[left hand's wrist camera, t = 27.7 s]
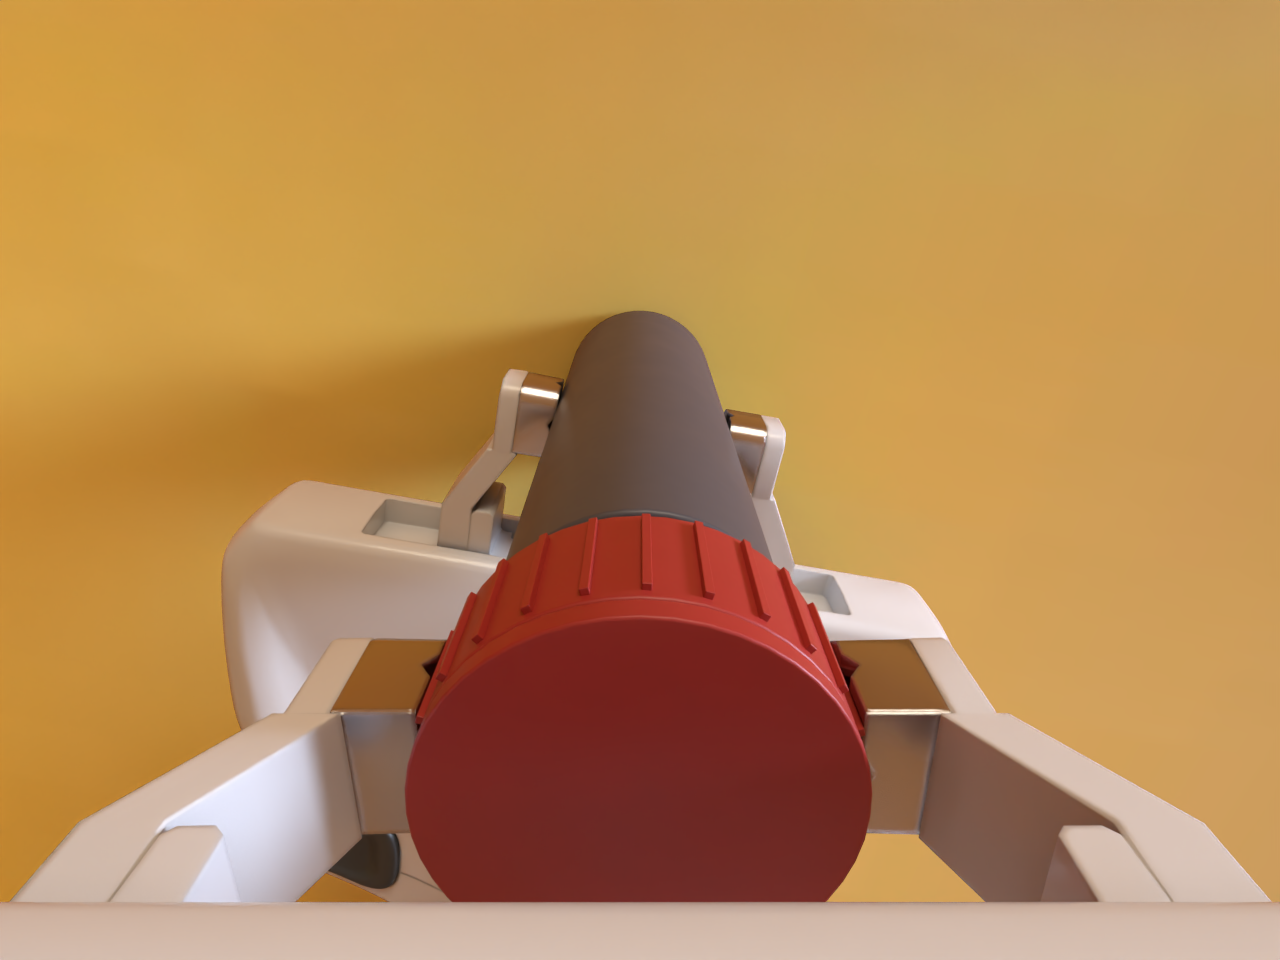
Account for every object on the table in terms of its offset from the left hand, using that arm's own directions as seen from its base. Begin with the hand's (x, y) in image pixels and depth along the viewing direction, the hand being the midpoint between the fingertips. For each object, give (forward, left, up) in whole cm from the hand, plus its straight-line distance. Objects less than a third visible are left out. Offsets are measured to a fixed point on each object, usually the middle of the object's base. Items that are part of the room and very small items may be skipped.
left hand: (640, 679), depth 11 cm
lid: (0, 0, +2) cm, 2 cm away
